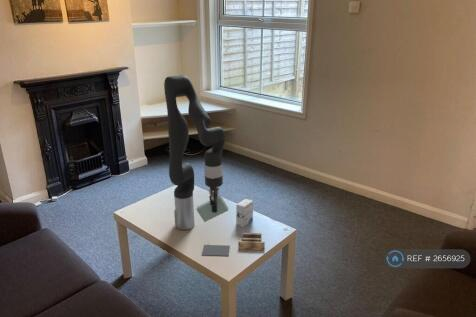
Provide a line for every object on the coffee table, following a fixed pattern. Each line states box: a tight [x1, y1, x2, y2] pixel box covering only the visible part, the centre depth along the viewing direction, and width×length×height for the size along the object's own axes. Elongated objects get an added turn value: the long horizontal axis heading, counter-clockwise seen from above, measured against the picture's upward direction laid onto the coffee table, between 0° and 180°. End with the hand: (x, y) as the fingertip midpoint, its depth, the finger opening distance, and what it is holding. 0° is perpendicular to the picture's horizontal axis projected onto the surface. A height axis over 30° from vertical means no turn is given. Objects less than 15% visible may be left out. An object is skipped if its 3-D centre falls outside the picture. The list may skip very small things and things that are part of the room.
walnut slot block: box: [241, 232, 262, 242], centre depth 180 cm, size 9×6×2 cm, turn 87°
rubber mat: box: [201, 244, 231, 257], centre depth 173 cm, size 12×8×1 cm, turn 87°
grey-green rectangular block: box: [195, 194, 229, 223], centre depth 166 cm, size 7×2×12 cm
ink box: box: [235, 198, 254, 228], centre depth 195 cm, size 9×5×12 cm, turn 143°
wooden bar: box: [237, 240, 266, 251], centre depth 174 cm, size 12×2×4 cm, turn 87°
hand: (214, 210), depth 166 cm, fingers closed on grey-green rectangular block, 2 cm apart
